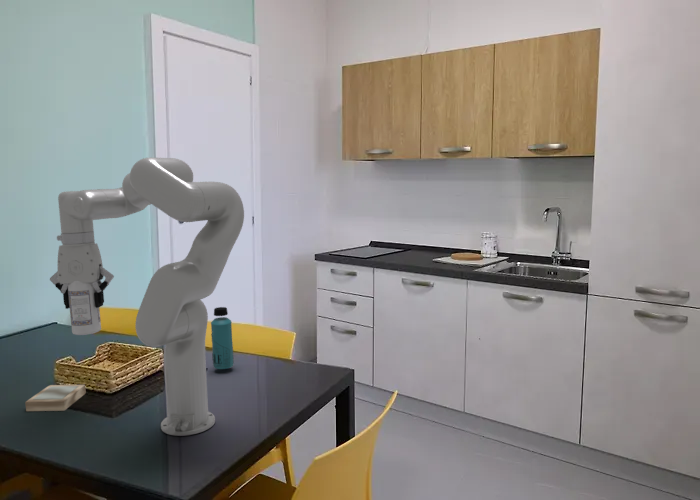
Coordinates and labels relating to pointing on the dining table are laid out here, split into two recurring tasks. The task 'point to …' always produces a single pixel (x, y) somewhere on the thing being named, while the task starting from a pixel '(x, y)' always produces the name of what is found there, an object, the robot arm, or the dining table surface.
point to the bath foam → (83, 309)
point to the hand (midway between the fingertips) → (84, 306)
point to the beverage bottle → (222, 340)
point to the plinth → (55, 398)
